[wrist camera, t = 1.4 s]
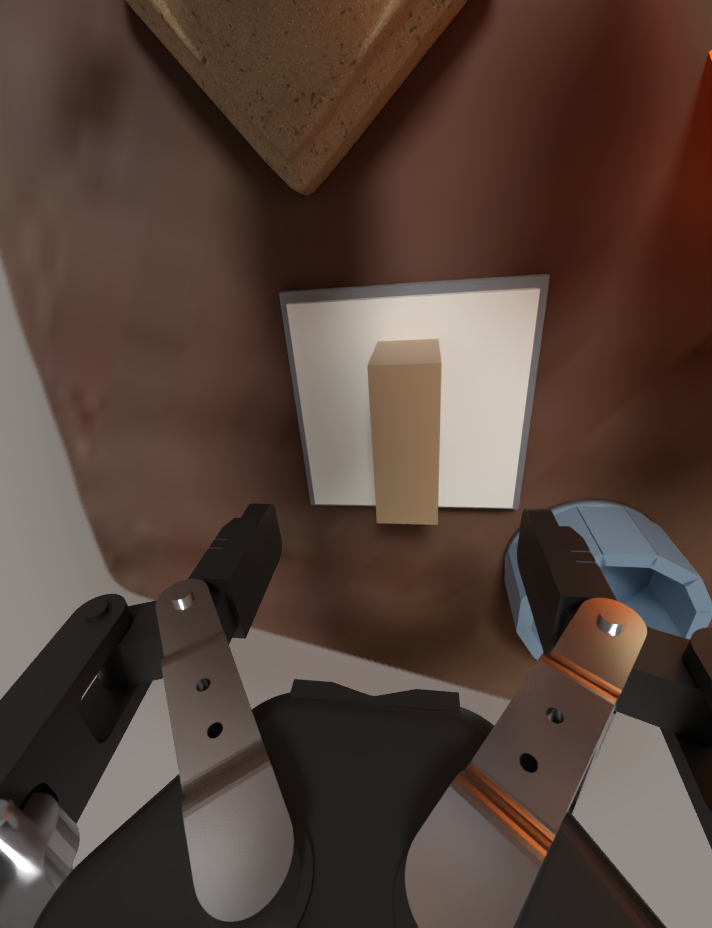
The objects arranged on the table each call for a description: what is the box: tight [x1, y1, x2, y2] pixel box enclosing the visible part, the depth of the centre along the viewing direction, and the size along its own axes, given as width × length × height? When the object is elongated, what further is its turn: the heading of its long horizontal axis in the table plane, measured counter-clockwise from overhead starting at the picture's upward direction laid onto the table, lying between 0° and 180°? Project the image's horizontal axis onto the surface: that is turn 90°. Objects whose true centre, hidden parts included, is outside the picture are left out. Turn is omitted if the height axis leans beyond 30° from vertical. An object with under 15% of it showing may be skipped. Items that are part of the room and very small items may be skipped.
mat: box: [279, 274, 550, 509], centre depth 23 cm, size 13×13×1 cm
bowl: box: [504, 499, 712, 660], centre depth 25 cm, size 10×10×5 cm
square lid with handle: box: [286, 288, 540, 525], centre depth 21 cm, size 12×12×5 cm
